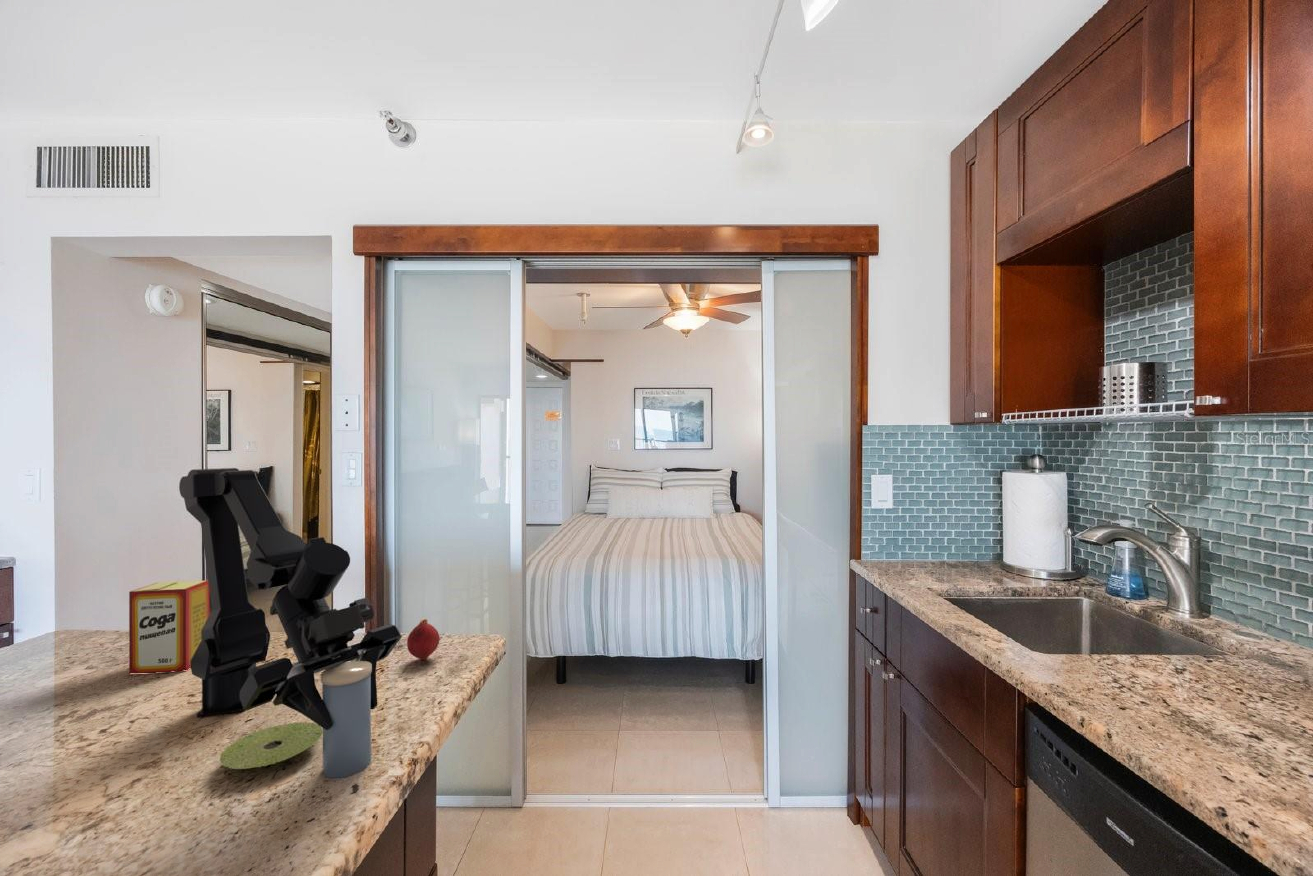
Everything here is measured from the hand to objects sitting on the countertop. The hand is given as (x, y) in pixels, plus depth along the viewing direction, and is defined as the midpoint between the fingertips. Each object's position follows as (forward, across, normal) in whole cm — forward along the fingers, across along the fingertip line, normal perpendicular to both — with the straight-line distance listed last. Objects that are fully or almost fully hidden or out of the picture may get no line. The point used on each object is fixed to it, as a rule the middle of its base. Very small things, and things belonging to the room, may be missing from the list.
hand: (353, 717), depth 69 cm
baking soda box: (-41, +2, +51) cm, 65 cm away
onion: (-12, +27, +21) cm, 36 cm away
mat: (-4, -4, +13) cm, 14 cm away
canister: (+4, 0, +6) cm, 7 cm away
